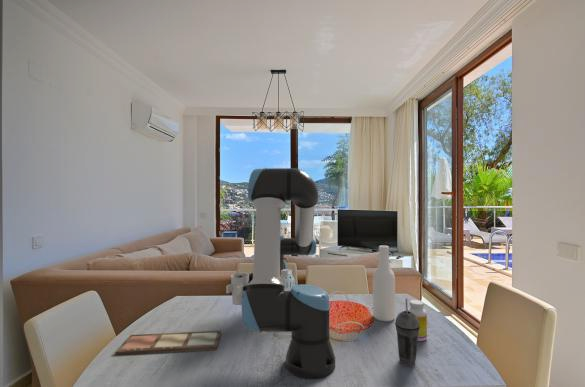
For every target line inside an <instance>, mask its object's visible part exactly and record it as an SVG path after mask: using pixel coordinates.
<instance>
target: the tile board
mask: <svg viewBox="0 0 585 387" xmlns="http://www.w3.org/2000/svg"><path fill="white" fill-rule="evenodd" d="M221 333H222V330H207V331H202V330H201V331H186V332H168V333H167V332H166V333H165V332H164V333H163V332H161V333H145V334H144V333H142V334H141V333H139V334H130V335H129V337H128V338H126V340H125V341H124V342H122V344H121V345H120V346H119V348H118V349H117V350H116V351H115V356H123V355H124V356H126V355H141V354H142V355H143V354H144V355H145V354H162V353H177V352H178V353H180V352H195V351H196V352H197V351H198V352H199V351H201V352H202V351H215V350H217V348H218V344H219V341H220V337H221Z"/></svg>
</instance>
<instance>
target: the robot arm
mask: <svg viewBox="0 0 585 387" xmlns="http://www.w3.org/2000/svg"><path fill="white" fill-rule="evenodd" d="M318 191H319V190H318V187H317V186H316V184H315V181H314V179H312V177H311V176H310V175H309V174H308V173H306V172H305V171H304V170H302V169H299V168H295V167H294V168H293V167H291V168H287V167H285V168H283V167H282V168H281V167H280V168H278V167H277V168H276V167H275V168H269V167H268V168H266V167H263V168H255V169H253V170H252V172H251V173H250V176H249V180H248V186H247V198H248V200H249V201H250V202H251V205H252V206H253V208H254V209H255V224H254V226H255V227H254V245H253V266H252V268H253V269H252V272H251V273H248V274H249V284H248V285H247V286H244V285H240V286H238V287H236V295H239V294H241V293H242V299H241V305H240V306H241V307H240V308H241V315H242V316H241V317H242V321H243V326H244V328H245V329H246V331H249V332H257V333H258V332H259V333H265V332H267V333H269V332H271V333H273V332H275V333H276V332H280V333H283V332H286V333H287V332H289V333H291V336H290V341H289V345H288V349H287V351H286V354H285V367H286V369H287V370H288V371H289V373H291V374H293V375H294V376H296V377H299V378H304V379H309V380H310V379H320V378H324V377H326V376H329V375H331V374H332V373H333V372H334V371H335V369H336V356H335V352H334V349H333V347H332V343H331V339H330V334H331V333H330V310H331V306H330V297H329V296H330V295H329V293H328V292H327V291H326V290H324V289H323V288H322V287H320V286H319V287H318V286H315V285H312V284H306V283H305V284H300V283H299V284H294V285H292V286H291V288H290V290H285V284H284V283H283V282H282V281H281V277H282V275H281V270H283V269H287V270H288V264H287V261H286V260H285V258H284V256H314V255H316V254H317V239H316V238H314V237H313V236H314V235H313V234H314V222H315V221H314V219H315V207H316V206H317V204H318V203H319V192H318ZM287 201H289V202H290V201H292V203H293V205H294V215H295V216H294V220H295V221H294V226H295V227H294V235H295V236H294V237H291V238H290V237H289V238H287V237H285V236H284V234H283V233H281V216H282V214H281V213H282V212H281V211H282V209H283V208H285V206H286V202H287ZM225 288H226V290H225V293H226V294H230V293H232V291H233V286H232V283H229V284H227V285H226V287H225Z"/></svg>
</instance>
